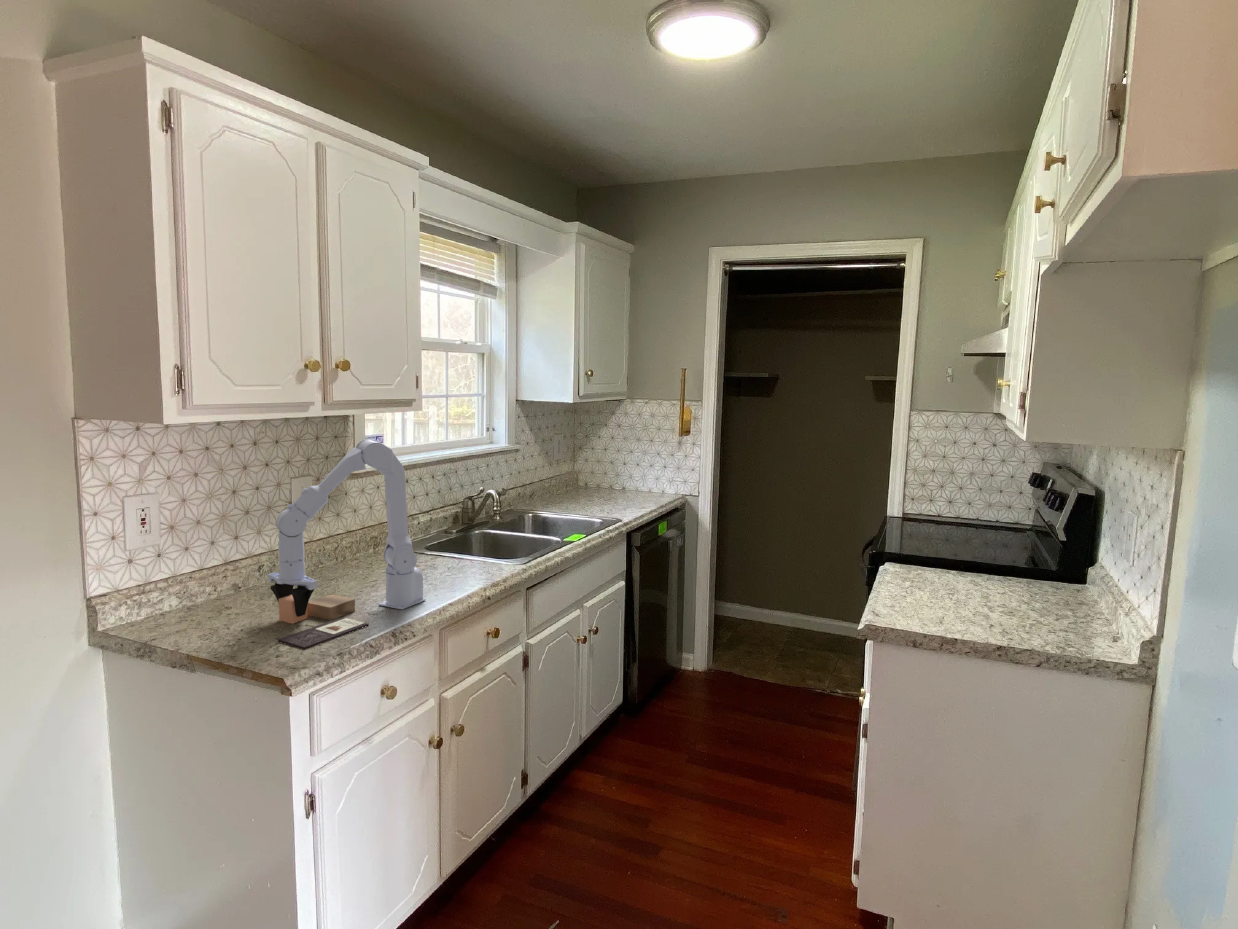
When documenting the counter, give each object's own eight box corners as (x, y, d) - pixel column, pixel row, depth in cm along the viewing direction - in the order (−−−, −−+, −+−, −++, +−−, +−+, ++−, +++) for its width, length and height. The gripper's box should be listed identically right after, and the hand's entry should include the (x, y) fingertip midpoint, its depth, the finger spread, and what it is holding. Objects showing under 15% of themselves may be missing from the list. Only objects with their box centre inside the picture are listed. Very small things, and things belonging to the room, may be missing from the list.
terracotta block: (294, 615, 182) (293, 594, 181) (307, 618, 180) (307, 596, 180) (279, 620, 178) (278, 598, 177) (292, 623, 176) (291, 601, 176)
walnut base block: (331, 607, 190) (331, 594, 190) (355, 612, 187) (354, 599, 186) (306, 616, 183) (306, 602, 182) (330, 621, 179) (330, 607, 179)
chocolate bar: (277, 639, 164) (342, 617, 180) (277, 643, 165) (342, 620, 180) (304, 647, 160) (368, 624, 176) (304, 651, 160) (368, 627, 176)
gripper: (256, 559, 177) (258, 613, 178) (299, 567, 171) (301, 623, 172) (281, 553, 183) (282, 605, 185) (323, 560, 177) (325, 615, 179)
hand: (293, 613), depth 179 cm, fingers closed on terracotta block, 4 cm apart
